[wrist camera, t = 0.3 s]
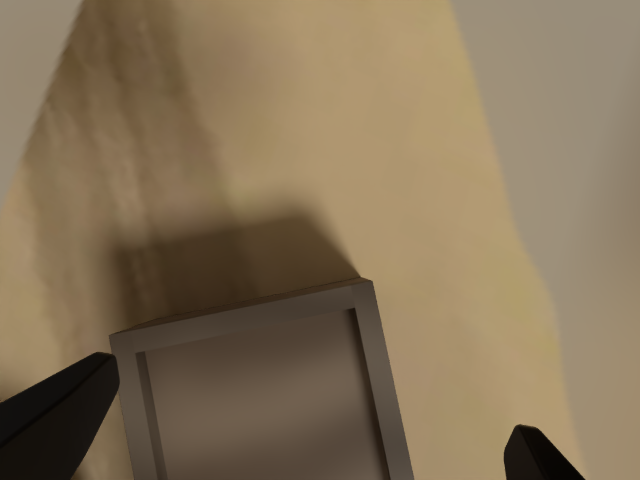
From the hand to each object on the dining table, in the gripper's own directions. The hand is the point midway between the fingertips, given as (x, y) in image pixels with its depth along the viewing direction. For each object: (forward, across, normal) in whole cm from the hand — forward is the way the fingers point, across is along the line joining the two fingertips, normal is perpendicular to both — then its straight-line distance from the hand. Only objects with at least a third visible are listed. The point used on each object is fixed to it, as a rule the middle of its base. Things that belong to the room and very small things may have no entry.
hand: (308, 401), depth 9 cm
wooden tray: (+9, +2, +13) cm, 16 cm away
